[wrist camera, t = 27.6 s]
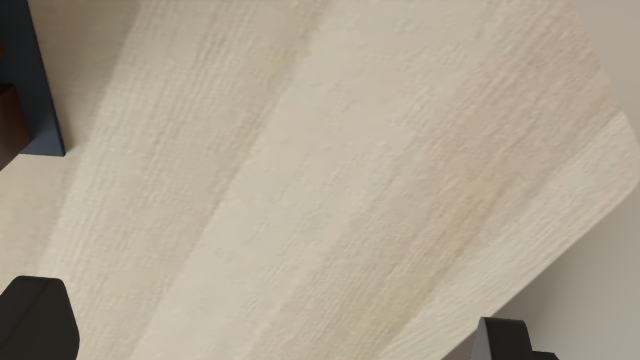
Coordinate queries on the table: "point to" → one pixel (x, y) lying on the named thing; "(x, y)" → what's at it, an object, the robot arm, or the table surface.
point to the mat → (28, 78)
